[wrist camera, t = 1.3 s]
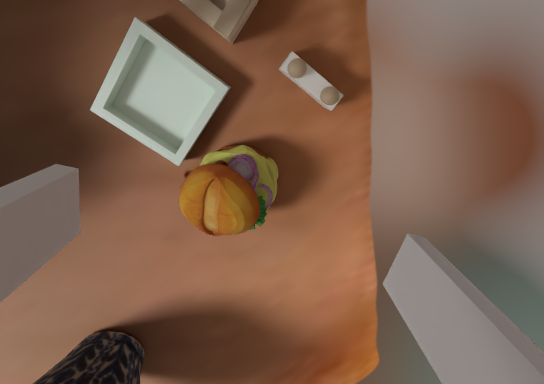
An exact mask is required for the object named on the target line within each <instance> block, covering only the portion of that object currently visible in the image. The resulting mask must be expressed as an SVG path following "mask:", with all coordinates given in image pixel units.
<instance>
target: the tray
mask: <svg viewBox="0 0 544 384" xmlns="http://www.w3.org/2000/svg"><path fill="white" fill-rule="evenodd" d="M230 88H231V87H230V86H229V85H227V84H226V83H225V82H223V81H222V80H221V79H219V78H218V77H217V76H216V75H214V74H213V73H212V72H210V71H209V70H208V69H206V68H205V67H204V66H202V65H201V64H200V63H198V62H197V61H196V60H194V59H193V58H192V57H191V56H189V55H188V54H187V53H185V52H184V51H183V50H181V49H180V48H179V47H177V46H176V45H175V44H173V43H172V42H171V41H169V40H168V39H167V38H166V37H164V36H163V35H162V34H160V33H159V32H158V31H156V30H155V29H154V28H152V27H151V26H150V25H148V24H147V23H146V22H144V21H142V20H140V19H138V18H136V17H135V18H134V20H133V22H132V24H131V26H130V28H129V30H128V32H127V34H126V37H125V39H124V41H123V43H122V45H121V47H120V49H119V51H118V53H117V55H116V57H115V59H114V61H113V63H112V65H111V68H110V70H109V72H108V74H107V76H106V78H105V80H104V82H103V84H102V86H101V88H100V90H99V92H98V94H97V96H96V99H95V101H94V103H93V105H92V107H91V109H90V111H92V112H94V113H95V114H97V115H98V116H100V117H101V118H103V119H105V120H106V121H108V122H109V123H111V124H113V125H114V126H116V127H117V128H119V129H121V130H122V131H124V132H125V133H127V134H128V135H130V136H132V137H133V138H135V139H136V140H138V141H140V142H141V143H143V144H144V145H146V146H147V147H149V148H151V149H152V150H154V151H155V152H157V153H159V154H160V155H162V156H163V157H165V158H167V159H168V160H170V161H171V162H173V163H174V164H176V165H178V166H179V165H180V164H181V163H182V162H183V161H184V160H185V158H186V157H187V155H188V154H189V152H190V150H191V149H192V147H193V146H194V144H195V143H196V141H197V140H198V138H199V136H200V135H201V133H202V132H203V130H204V129H205V127H206V126H207V124H208V123H209V121H210V119H211V118H212V116H213V115H214V113H215V112H216V110H217V109H218V107H219V105H220V104H221V102H222V101H223V99H224V98H225V96H226V95H227V93H228V91H229V90H230Z"/></svg>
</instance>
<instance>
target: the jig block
mask: <svg viewBox="0 0 544 384" xmlns="http://www.w3.org/2000/svg"><path fill="white" fill-rule="evenodd" d="M178 1H180V2H181V3H182V4H183V5H185V6H186V7H187V8H188V9H189V10H191V11H192V12H193V13H194V14H196V15H197V16H198V17H199V18H201V19H202V20H203V21H204V22H205V23H207V24H208V25H209V26H210V27H212V28H213V29H214V30H215V31H217V32H218V33H219V34H220V35H222V36H223V37H224V38H225V39H226V40H228V41H229V42H230V43H231V44H233V42H234V40H235V39H236V37H237V36H238V34H239V32H240V31H241V29H242V27H243V26H244V24H245V23H246V21H247V19H248V18H249V16H250V14H251V13H252V11H253V9H254V8H255V6H256V5H257V3H258V1H259V0H178Z"/></svg>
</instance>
